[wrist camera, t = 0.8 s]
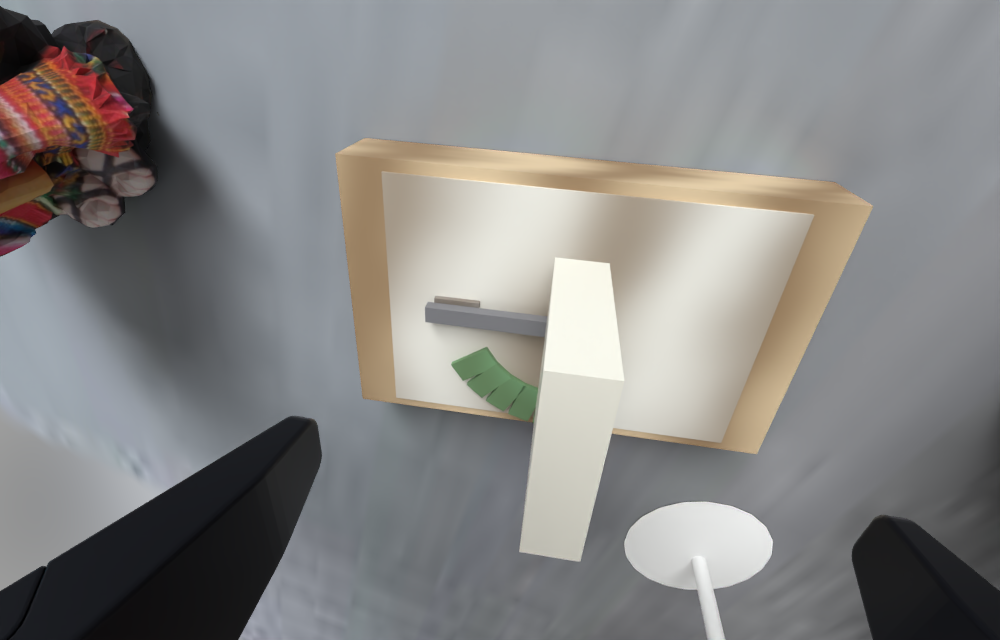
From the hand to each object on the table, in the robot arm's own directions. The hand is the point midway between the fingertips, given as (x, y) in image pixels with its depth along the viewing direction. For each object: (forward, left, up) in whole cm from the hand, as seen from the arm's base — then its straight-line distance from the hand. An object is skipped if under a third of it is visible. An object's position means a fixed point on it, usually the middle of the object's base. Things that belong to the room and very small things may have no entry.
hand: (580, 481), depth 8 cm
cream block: (+2, +3, -9) cm, 10 cm away
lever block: (0, +3, -12) cm, 12 cm away
